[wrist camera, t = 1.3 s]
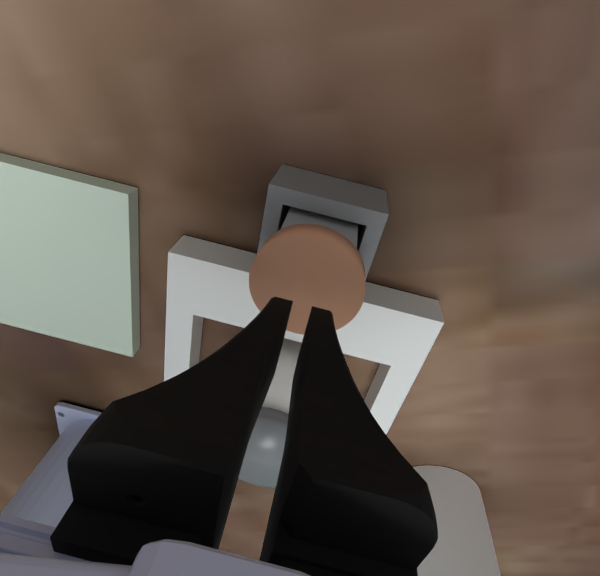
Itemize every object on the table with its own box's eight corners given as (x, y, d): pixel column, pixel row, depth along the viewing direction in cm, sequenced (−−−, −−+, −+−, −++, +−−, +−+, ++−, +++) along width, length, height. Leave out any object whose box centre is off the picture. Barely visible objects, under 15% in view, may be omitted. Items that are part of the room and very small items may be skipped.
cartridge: (316, 391, 26) (300, 496, 20) (245, 372, 27) (208, 472, 20) (335, 336, 24) (323, 438, 18) (256, 315, 24) (217, 410, 18)
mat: (140, 346, 27) (132, 357, 26) (-22, 305, 27) (-34, 313, 26) (137, 187, 21) (128, 194, 20) (-71, 134, 21) (-89, 138, 20)
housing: (366, 447, 29) (366, 487, 26) (174, 397, 29) (156, 432, 26) (480, 214, 19) (497, 242, 16) (188, 140, 19) (161, 156, 16)
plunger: (351, 288, 20) (347, 346, 16) (265, 265, 20) (241, 319, 16) (378, 206, 18) (381, 252, 14) (281, 181, 18) (257, 221, 14)
